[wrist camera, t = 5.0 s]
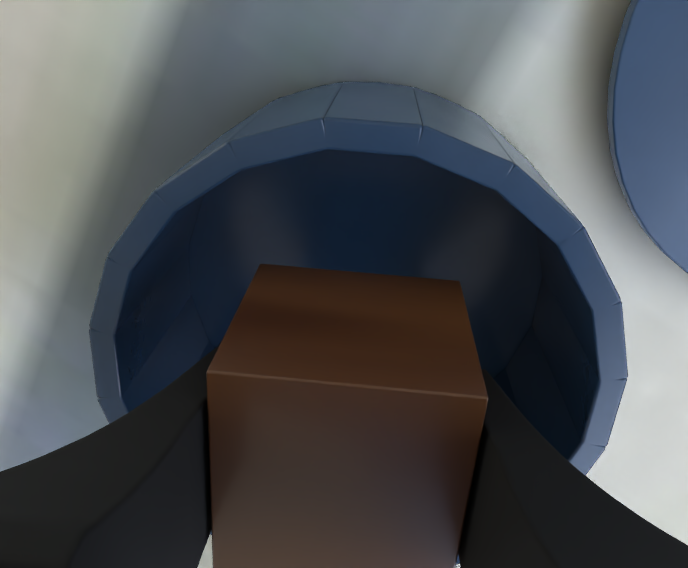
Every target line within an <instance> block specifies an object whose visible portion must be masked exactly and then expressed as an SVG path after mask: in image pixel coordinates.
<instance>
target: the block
mask: <svg viewBox="0 0 688 568" xmlns="http://www.w3.org/2000/svg"><path fill="white" fill-rule="evenodd" d="M206 378H207V407H208V437H209V467H210V496H211V526H212V555H213V568H455V567H456V562H457V557H458V552H459V547H460V542H461V537H462V532H463V526H464V521H465V516H466V511H467V506H468V501H469V496H470V491H471V485H472V480H473V475H474V470H475V465H476V460H477V455H478V450H479V444H480V439H481V434H482V429H483V424H484V419H485V414H486V409H487V403H488V395H487V391H486V387H485V382H484V378H483V374H482V370H481V366H480V362H479V358H478V354H477V349H476V345H475V341H474V337H473V333H472V329H471V325H470V321H469V317H468V312H467V308H466V304H465V300H464V296H463V292H462V288H461V284H460V281H455V280H444V279H432V278H421V277H409V276H398V275H386V274H375V273H363V272H352V271H340V270H329V269H317V268H306V267H294V266H283V265H271V264H260V265H259V267H258V269H257V271H256V273H255V275H254V277H253V279H252V281H251V283H250V285H249V287H248V289H247V291H246V293H245V295H244V297H243V299H242V301H241V303H240V305H239V307H238V309H237V311H236V313H235V315H234V317H233V319H232V321H231V323H230V325H229V327H228V329H227V331H226V333H225V336H224V338H223V340H222V342H221V344H220V346H219V348H218V350H217V352H216V354H215V356H214V358H213V360H212V362H211V364H210V366H209V368H208V370H207V372H206Z"/></svg>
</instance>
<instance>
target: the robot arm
mask: <svg viewBox="0 0 688 568" xmlns="http://www.w3.org/2000/svg"><path fill="white" fill-rule="evenodd" d="M219 346H220V345H219ZM219 346H218V347H216V348H215V349H214V350H212V351H211V352H210V353H209V354H207V355H206V356H205V357H203V358H202V359H201V360H200V361H198V362H197V363H196V364H195V365H194V366H192V367H191V368H190V369H189V370H187V371H186V372H185V373H184V374H182V375H181V376H180V377H178V378H177V379H176V380H174V381H173V382H172V383H171V384H169V385H168V386H167V387H165V388H164V389H163V390H161V391H160V392H158V393H157V394H155V395H154V396H152V397H151V398H149V399H148V400H147V401H145V402H144V403H142V404H141V405H139V406H138V407H136V408H135V409H133V410H132V411H130V412H129V413H127V414H125V415H124V416H122V417H120V418H119V419H117V420H115V421H114V422H112V423H110V424H108V425H106V426H105V427H103V428H101V429H99V430H97V431H95V432H94V433H92V434H90V435H88V436H86V437H84V438H81V439H79V440H77V441H75V442H73V443H70V444H68V445H66V446H64V447H62V448H59V449H57V450H55V451H53V452H51V453H48V454H46V455H44V456H41V457H39V458H36V459H34V460H31V461H29V462H26V463H23V464H21V465H18V466H15V467H12V468H10V469H7V470H4V471H1V472H0V568H197V567H198V564H199V561H200V558H201V555H202V553H203V550H204V548H205V545H206V543H207V540H208V538H209V535H210V533H211V530H212V526H211V496H210V467H209V437H208V407H207V378H206V372H207V370H208V368H209V366H210V364H211V362H212V360H213V358H214V356H215V354H216V352H217V350H218V348H219ZM481 370H482V374H483V378H484V382H485V387H486V391H487V395H488V403H487V409H486V414H485V419H484V424H483V429H482V434H481V439H480V444H479V450H478V455H477V460H476V465H475V470H474V475H473V480H472V485H471V491H470V496H469V501H468V506H467V511H466V516H465V521H464V526H463V532H462V537H461V542H460V547H459V552H458V555H459V560H460V566H461V568H688V545H686V544H684V543H683V542H681V541H679V540H678V539H676V538H674V537H672V536H671V535H669V534H667V533H666V532H664V531H662V530H661V529H659V528H657V527H656V526H654V525H653V524H651V523H650V522H648V521H646V520H645V519H643V518H642V517H640V516H639V515H637V514H636V513H634V512H633V511H632V510H630V509H629V508H627V507H626V506H624V505H623V504H622V503H620V502H619V501H617V500H616V499H614V498H613V497H612V496H610V495H609V494H608V493H606V492H605V491H604V490H602V489H601V488H600V487H598V486H597V485H596V484H595V483H594V482H592V481H591V480H590V479H589V478H588V477H586V476H585V475H584V474H583V473H582V472H580V471H579V470H578V469H577V468H576V467H574V466H573V465H572V464H571V463H570V462H569V461H568V460H567V459H565V458H564V457H563V456H562V455H561V454H560V453H559V452H558V451H557V450H556V449H555V448H554V447H553V446H552V445H551V444H550V443H549V442H548V441H547V440H546V439H545V438H544V437H543V436H542V435H541V434H540V433H539V432H538V431H537V430H536V429H535V428H534V426H533V425H532V424H531V423H530V422H529V421H528V420H527V419H526V418H525V416H524V415H523V414H522V413H521V412H520V411H519V410H518V408H517V407H516V406H515V405H514V404H513V402H512V401H511V400H510V399H509V398H508V396H507V395H506V394H505V393H504V391H503V390H502V389H501V388H500V386H499V385H498V384H497V383H496V381H495V380H494V379H493V378H492V377H491V375H490V374H489V373H488V372H487V370H483V369H481Z"/></svg>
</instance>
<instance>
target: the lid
mask: <svg viewBox="0 0 688 568" xmlns="http://www.w3.org/2000/svg"><path fill="white" fill-rule="evenodd" d="M607 124H608V134H609V145H610V152H611V157H612V161H613V165H614V169H615V173H616V177H617V180H618V183H619V185H620V188H621V190H622V192H623V195H624V197H625V200H626V202H627V204H628V206H629V208H630V210H631V211H632V213H633V215H634V216H635V218H636V220H637V221H638V223H639V224H640V226H641V228H642V229H643V230H644V232H645V233H646V234H647V235H648V236H649V237H650V239H651V240H652V241H653V242H654V243H655V244H656V246H657V247H658V248H659V249H660V250H661V251H662V252H663V253H664V254H665V255H666V256H668V257H669V258H670V259H671V260H672V261H674V262H675V263H676V264H677V265H678V266H679V267H681V268H682V269H683V270H684V271H685V272H687V273H688V0H631V2H630V5H629V7H628V9H627V12H626V14H625V17H624V20H623V24H622V27H621V31H620V34H619V37H618V41H617V44H616V47H615V51H614V56H613V62H612V68H611V74H610V80H609V86H608V109H607Z"/></svg>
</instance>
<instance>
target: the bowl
mask: <svg viewBox="0 0 688 568" xmlns="http://www.w3.org/2000/svg"><path fill="white" fill-rule="evenodd" d="M260 264H271V265H283V266H294V267H306V268H317V269H329V270H340V271H352V272H363V273H375V274H386V275H398V276H409V277H421V278H432V279H444V280H455V281H460V284H461V288H462V292H463V296H464V300H465V304H466V308H467V312H468V317H469V321H470V325H471V329H472V333H473V337H474V341H475V345H476V349H477V354H478V358H479V362H480V366H481V369H483V370H487V372H488V373H489V374H490V375H491V377H492V378H493V379H494V380H495V381H496V383H497V384H498V385H499V386H500V388H501V389H502V390H503V391H504V393H505V394H506V395H507V396H508V398H509V399H510V400H511V401H512V402H513V404H514V405H515V406H516V407H517V408H518V410H519V411H520V412H521V413H522V414H523V415H524V416H525V418H526V419H527V420H528V421H529V422H530V423H531V424H532V425H533V426H534V428H535V429H536V430H537V431H538V432H539V433H540V434H541V435H542V436H543V437H544V438H545V439H546V440H547V441H548V442H549V443H550V444H551V445H552V446H553V447H554V448H555V449H556V450H557V451H558V452H559V453H560V454H561V455H562V456H563V457H564V458H565V459H567V460H568V461H569V462H570V463H571V464H572V465H573V466H574V467H576V468H577V469H578V470H579V471H580V472H582V473H583V474H584V475H586V474H587V473H588V471H589V470H590V469H591V467H592V466H593V465H594V463H595V462H596V461H597V459H598V458H599V457H600V455H601V454H602V453H603V451H604V450H605V446H607V444H608V440H609V437H610V434H611V431H612V427H613V424H614V421H615V417H616V414H617V411H618V407H619V404H620V401H621V398H622V394H623V391H624V388H625V384H626V381H627V377H628V370H627V359H626V347H625V335H624V323H623V311H622V302H621V299H620V296H619V294H618V292H617V290H616V288H615V287H614V285H613V283H612V281H611V279H610V277H609V275H608V273H607V271H606V269H605V267H604V265H603V263H602V261H601V259H600V257H599V255H598V253H597V251H596V249H595V247H594V245H593V243H592V241H591V239H590V237H589V235H588V233H587V231H586V229H585V227H584V226H583V225H582V223H581V222H580V221H579V220H578V219H577V217H576V216H575V215H574V214H573V213H572V212H571V210H570V209H569V208H568V207H567V206H566V205H565V203H564V202H563V201H562V200H561V199H560V197H559V196H558V195H557V194H556V193H555V192H554V190H553V189H552V188H551V187H550V186H549V184H548V183H547V182H546V181H545V180H544V179H543V177H542V176H541V175H540V174H539V173H538V172H537V170H536V169H535V168H534V167H533V166H532V164H531V163H530V162H529V161H528V160H527V159H526V158H525V157H524V156H523V155H522V154H521V153H520V152H519V151H518V150H517V149H516V148H515V147H513V146H512V145H511V144H510V143H509V142H508V141H507V140H506V139H505V138H504V137H503V136H502V135H501V134H500V133H498V132H497V131H496V130H495V129H494V128H493V127H492V126H491V125H490V124H488V123H487V122H486V121H485V120H484V119H483V118H482V117H481V116H480V115H477V114H476V113H474V112H472V111H470V110H467V109H465V108H464V107H462V106H460V105H458V104H456V103H454V102H451V101H449V100H447V99H445V98H442V97H440V96H438V95H436V94H433V93H429V92H426V91H423V90H421V89H419V88H416V87H414V88H413V87H411V86H403V85H396V84H389V83H382V82H344V83H343V82H338V83H335V84H330V85H322V86H318V87H315V88H311V89H308V90H304V91H300V92H297V93H294V94H292V95H288V96H284V97H280V98H278V99H277V100H274V101H272V102H271V103H269V104H268V105H266V106H265V107H263V108H262V109H260V110H259V111H257V112H256V113H254V114H252V115H251V116H249V117H248V118H246V119H245V120H244V121H242V122H241V123H239V124H238V125H236V126H235V127H233V128H232V129H230V130H229V131H227V132H226V133H224V134H223V135H222V136H220V137H219V138H218V139H217V140H215V141H214V142H213V143H212V144H210V145H209V146H208V147H207V148H205V149H204V150H203V151H202V152H200V153H199V154H198V155H197V156H195V157H194V158H193V159H192V160H190V161H189V162H188V163H187V164H185V165H184V166H183V167H182V168H180V169H179V170H178V171H177V172H175V173H174V174H173V175H172V176H170V177H169V178H168V179H167V180H165V181H164V182H163V183H162V184H160V185H159V186H158V187H157V188H156V189H155V190H154V191H153V192H152V193H151V194H150V195H149V197H148V198H147V200H146V201H145V202H144V204H143V205H142V207H141V208H140V209H139V211H138V212H137V214H136V215H135V216H134V218H133V219H132V220H131V222H130V223H129V225H128V226H127V227H126V229H125V230H124V232H123V233H122V234H121V236H120V237H119V239H118V240H117V241H116V243H115V244H114V246H113V247H112V248H111V250H110V251H109V253H108V257H107V258H106V260H105V264H104V268H103V272H102V276H101V280H100V284H99V288H98V292H97V296H96V300H95V304H94V308H93V312H92V316H91V320H90V324H89V327H90V329H89V335H90V343H91V351H92V359H93V367H94V376H95V384H96V392H97V397H98V402H99V404H100V406H101V408H102V410H103V412H104V414H105V416H106V418H107V420H108V422H109V424H110V423H112V422H114V421H115V420H117V419H119V418H120V417H122V416H124V415H125V414H127V413H129V412H130V411H132V410H133V409H135V408H136V407H138V406H139V405H141V404H142V403H144V402H145V401H147V400H148V399H149V398H151V397H152V396H154V395H155V394H157V393H158V392H160V391H161V390H163V389H164V388H165V387H167V386H168V385H169V384H171V383H172V382H173V381H174V380H176V379H177V378H178V377H180V376H181V375H182V374H184V373H185V372H186V371H187V370H189V369H190V368H191V367H192V366H194V365H195V364H196V363H197V362H198V361H200V360H201V359H202V358H203V357H205V356H206V355H207V354H209V353H210V352H211V351H212V350H214V349H215V348H216V347H218V346H219V345H220V344H221V342H222V340H223V338H224V336H225V333H226V331H227V329H228V327H229V325H230V323H231V321H232V319H233V317H234V315H235V313H236V311H237V309H238V307H239V305H240V303H241V301H242V299H243V297H244V295H245V293H246V291H247V289H248V287H249V285H250V283H251V281H252V279H253V277H254V275H255V273H256V271H257V269H258V267H259V265H260ZM210 534H211V535H212V530H211V533H210ZM459 563H460V560H459V555H458V557H457V562H456V564H459Z"/></svg>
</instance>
